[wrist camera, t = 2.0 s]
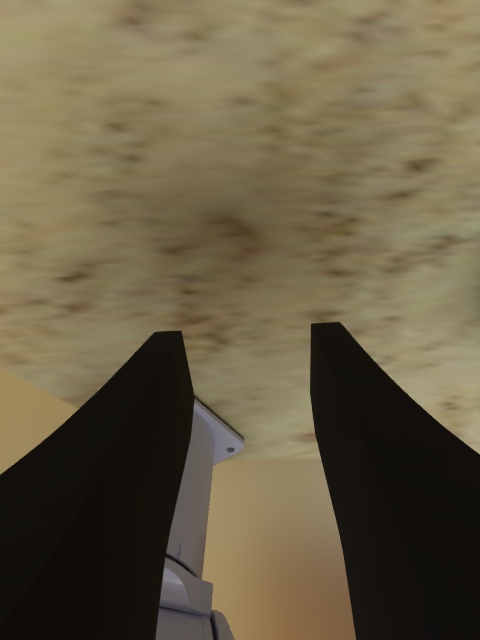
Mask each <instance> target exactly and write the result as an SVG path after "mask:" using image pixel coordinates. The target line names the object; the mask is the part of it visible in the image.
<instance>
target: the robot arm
mask: <svg viewBox="0 0 480 640" xmlns="http://www.w3.org/2000/svg"><path fill="white" fill-rule="evenodd" d="M310 396H311V404H312V412H313V420H314V428H315V434H316V439H317V443H318V447H319V451H320V455H321V460H322V464H323V468H324V472H325V476H326V480H327V484H328V488H329V493H330V497H331V501H332V505H333V509H334V513H335V517H336V521H337V525H338V530H339V534H340V539H341V544H342V549H343V554H344V561H345V567H346V574H347V581H348V587H349V594H350V601H351V607H352V614H353V621H354V627H355V634H356V640H480V455H479V454H478V453H477V452H476V451H474V450H473V449H472V448H470V447H469V446H468V445H466V444H465V443H464V442H463V441H461V440H460V439H459V438H457V437H456V436H455V435H454V434H452V433H451V432H450V431H448V430H447V429H446V428H445V427H444V426H442V425H441V424H440V423H439V422H438V421H437V420H435V419H434V418H433V417H432V416H431V415H430V414H429V413H427V412H426V411H425V410H424V409H423V408H422V407H421V406H420V405H419V404H417V403H416V402H415V401H414V400H413V399H412V398H411V397H410V396H409V395H408V394H407V393H406V392H404V391H403V390H402V389H401V388H400V387H399V386H398V385H397V384H396V383H395V382H394V381H393V380H392V379H391V378H390V377H389V376H388V375H387V374H386V373H385V372H384V371H383V370H382V369H381V368H380V367H379V365H378V364H377V363H376V362H375V361H374V360H373V359H372V358H371V357H370V356H369V355H368V354H367V353H366V351H365V350H364V349H363V348H362V347H361V346H360V345H359V344H358V342H357V341H356V340H355V339H354V338H353V337H352V335H351V334H350V333H349V332H348V331H347V330H346V328H345V327H344V326H343V325H342V324H341V323H340V322H332V323H313V324H311V364H310ZM244 446H245V443H244V440H243V439H242V438H241V437H240V436H239V435H237V434H236V433H235V432H234V431H233V430H232V429H230V428H229V427H228V426H227V425H226V424H224V423H223V422H222V421H221V420H220V419H219V418H217V417H216V416H215V415H214V414H213V413H212V412H210V411H209V410H208V409H207V408H206V407H204V406H203V405H202V404H201V403H200V402H199V401H197V400H196V399H195V397H194V392H193V387H192V382H191V376H190V371H189V366H188V361H187V356H186V351H185V346H184V341H183V336H182V331H164V332H154V333H153V334H152V335H151V336H150V337H149V339H148V340H147V341H146V342H145V343H144V344H143V345H142V346H141V347H140V348H139V349H138V350H137V351H136V352H135V353H134V354H133V356H132V357H131V358H130V359H129V360H128V361H127V362H126V363H125V364H124V365H123V366H122V367H121V368H120V369H119V370H118V371H117V372H116V373H115V374H114V376H113V377H112V378H111V379H110V380H109V381H108V382H107V383H106V384H105V385H104V386H103V387H102V388H101V389H100V390H99V391H98V392H97V393H96V394H95V395H94V396H92V397H91V398H90V399H89V400H88V401H87V402H86V403H85V404H84V405H83V406H82V407H81V408H80V409H79V410H77V411H76V412H75V413H74V414H73V415H72V416H71V417H70V418H69V419H68V420H67V421H66V422H65V423H64V424H63V425H61V426H60V427H59V428H58V429H57V430H56V431H54V432H53V433H52V434H51V435H50V436H49V437H47V438H46V439H45V440H44V441H43V442H41V444H39V445H38V446H36V447H35V448H34V449H33V450H31V451H30V452H29V453H28V454H26V455H25V456H24V457H23V458H21V459H20V460H19V461H18V462H16V463H15V464H14V465H12V466H11V467H10V468H9V469H7V470H6V471H5V472H3V473H2V474H1V475H0V640H234V637H233V634H232V632H231V630H230V627H229V624H228V622H227V620H226V617H225V616H224V615H223V614H222V613H221V612H218V611H216V610H211V605H212V592H213V584H212V583H210V582H206V581H203V580H202V572H203V561H204V552H205V541H206V532H207V521H208V511H209V501H210V491H211V481H212V471H213V466H214V465H216V464H217V463H219V462H221V461H223V460H225V459H227V458H229V457H230V456H232V455H234V454H236V453H238V452H240V451H241V450H243V449H244ZM229 447H232V448H229Z"/></svg>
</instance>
